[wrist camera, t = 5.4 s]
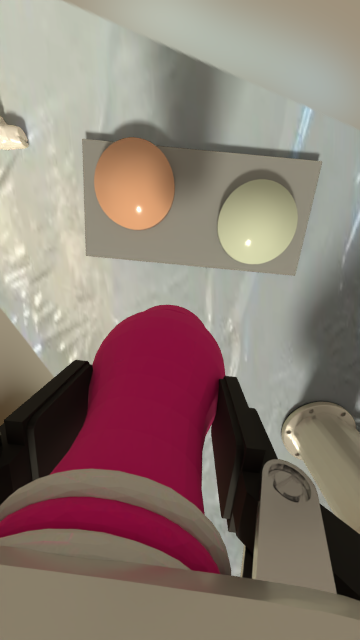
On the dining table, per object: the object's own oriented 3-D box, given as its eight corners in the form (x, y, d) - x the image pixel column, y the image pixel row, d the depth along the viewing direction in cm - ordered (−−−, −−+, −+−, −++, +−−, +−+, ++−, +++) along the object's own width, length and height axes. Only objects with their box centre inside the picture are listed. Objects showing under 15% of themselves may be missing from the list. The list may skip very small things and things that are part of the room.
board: (316, 165, 28) (322, 161, 26) (291, 275, 31) (294, 275, 30) (86, 143, 28) (82, 138, 26) (89, 255, 32) (86, 255, 30)
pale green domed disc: (300, 187, 27) (306, 183, 26) (282, 267, 30) (287, 267, 29) (222, 179, 27) (224, 175, 26) (212, 260, 30) (213, 260, 29)
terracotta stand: (178, 147, 26) (177, 141, 25) (171, 233, 29) (170, 232, 28) (98, 140, 26) (93, 133, 25) (99, 226, 29) (94, 225, 28)
